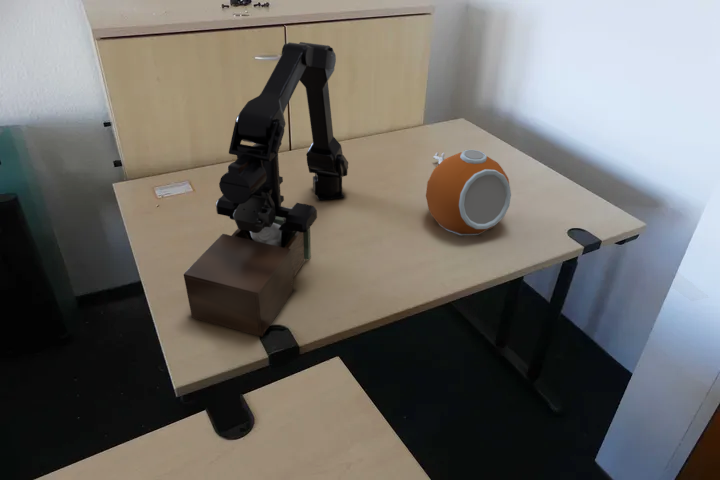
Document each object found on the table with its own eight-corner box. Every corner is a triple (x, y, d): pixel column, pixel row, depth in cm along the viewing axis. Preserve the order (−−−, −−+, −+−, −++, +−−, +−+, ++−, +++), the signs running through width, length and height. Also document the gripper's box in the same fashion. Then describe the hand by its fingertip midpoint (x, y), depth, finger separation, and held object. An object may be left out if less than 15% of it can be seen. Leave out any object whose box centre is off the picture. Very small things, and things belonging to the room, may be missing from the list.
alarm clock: (447, 249, 119) (458, 180, 109) (410, 210, 132) (417, 145, 122) (518, 232, 125) (535, 165, 115) (476, 196, 138) (488, 133, 128)
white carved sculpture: (247, 247, 109) (244, 218, 105) (279, 238, 112) (277, 209, 108) (258, 264, 105) (255, 234, 101) (291, 254, 108) (290, 224, 104)
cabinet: (228, 275, 109) (222, 233, 103) (293, 291, 106) (291, 249, 100) (191, 317, 99) (183, 273, 93) (262, 337, 95) (258, 292, 89)
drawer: (264, 233, 120) (261, 199, 115) (319, 245, 117) (318, 211, 112) (226, 277, 107) (221, 242, 102) (286, 292, 104) (284, 257, 99)
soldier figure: (450, 165, 155) (472, 171, 144) (440, 178, 155) (461, 185, 144) (433, 147, 151) (454, 152, 140) (422, 161, 151) (442, 167, 140)
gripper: (194, 187, 95) (206, 258, 104) (292, 208, 90) (295, 280, 99) (226, 160, 103) (234, 228, 112) (317, 178, 99) (318, 247, 108)
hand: (269, 245), depth 108 cm, fingers closed on white carved sculpture, 6 cm apart
